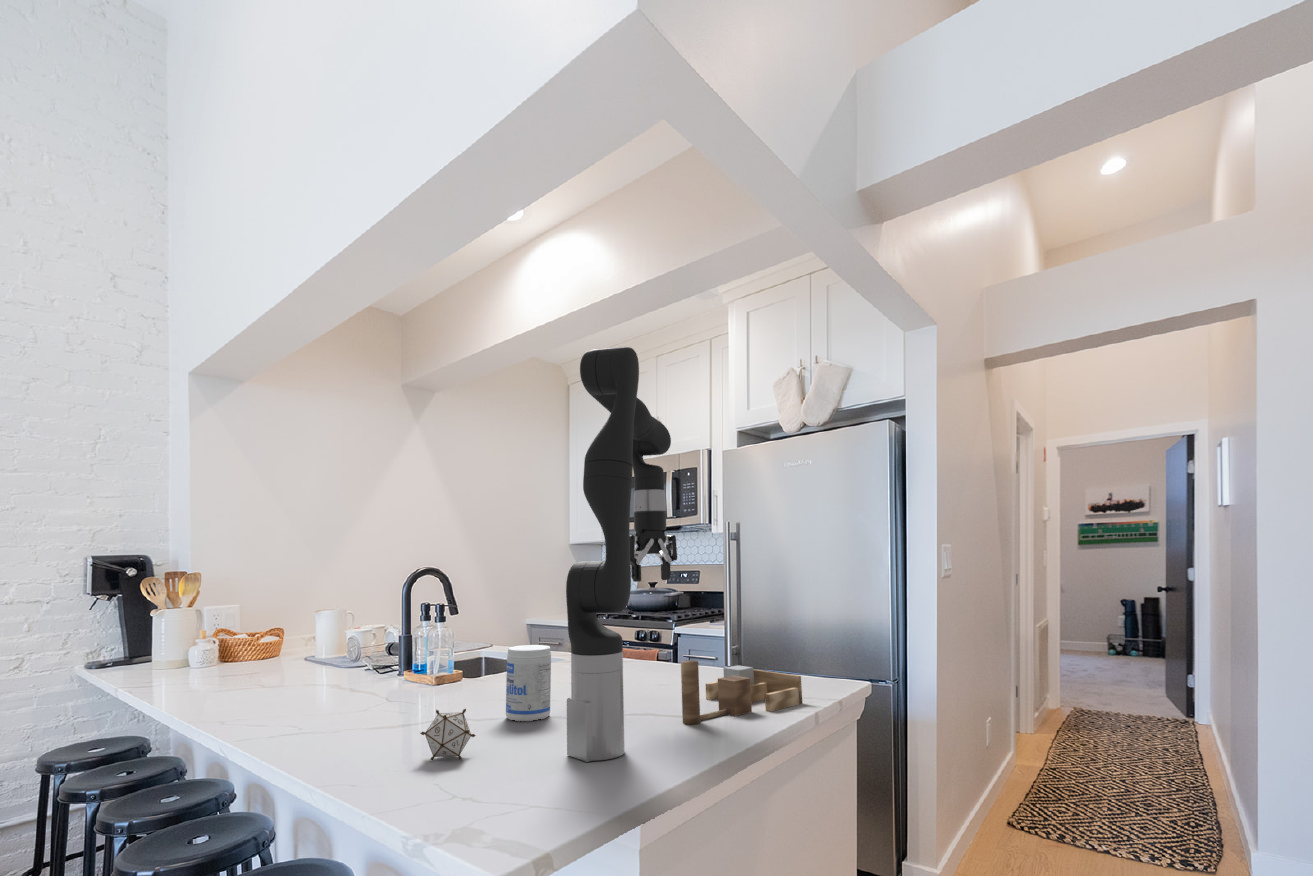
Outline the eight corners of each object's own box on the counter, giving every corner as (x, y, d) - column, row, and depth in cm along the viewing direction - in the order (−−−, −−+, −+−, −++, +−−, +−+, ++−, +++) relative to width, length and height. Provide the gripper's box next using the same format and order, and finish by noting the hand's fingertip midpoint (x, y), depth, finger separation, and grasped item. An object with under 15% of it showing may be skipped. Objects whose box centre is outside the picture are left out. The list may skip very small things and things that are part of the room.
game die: (456, 778, 124) (490, 725, 128) (445, 773, 117) (481, 717, 121) (416, 750, 126) (451, 699, 130) (402, 744, 119) (440, 690, 123)
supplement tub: (497, 721, 150) (497, 649, 152) (520, 711, 158) (520, 644, 161) (537, 724, 146) (537, 650, 149) (558, 713, 155) (558, 644, 157)
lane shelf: (769, 711, 152) (768, 682, 153) (706, 699, 166) (705, 672, 167) (802, 703, 159) (800, 675, 160) (738, 692, 173) (737, 666, 174)
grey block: (740, 701, 163) (738, 670, 164) (724, 698, 166) (723, 668, 168) (754, 698, 166) (753, 667, 167) (739, 695, 170) (737, 665, 171)
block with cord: (693, 726, 141) (691, 664, 143) (676, 722, 145) (674, 661, 146) (751, 712, 152) (749, 654, 154) (734, 708, 156) (732, 652, 158)
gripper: (636, 508, 157) (637, 582, 154) (683, 509, 166) (685, 579, 164) (615, 510, 163) (617, 582, 160) (662, 511, 172) (664, 579, 169)
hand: (651, 580), depth 162 cm, fingers open, 8 cm apart
